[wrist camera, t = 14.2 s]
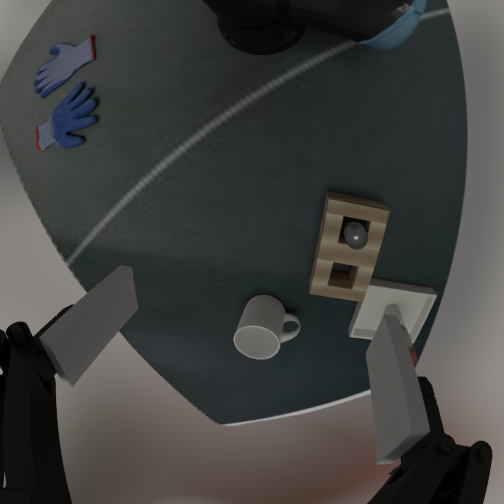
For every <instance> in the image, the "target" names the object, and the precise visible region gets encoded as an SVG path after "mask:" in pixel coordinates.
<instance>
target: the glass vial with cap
mask: <svg viewBox="0 0 504 504" xmlns="http://www.w3.org/2000/svg"><path fill="white" fill-rule="evenodd" d="M384 314H388V315H396V316H397V317H398V319H399V322H400V325H401V328H402V331H403V333H404V336H405V339H406V342H407V345H408V348H409V352H410V355H411V358H412V361H413V364H414V366H415V365H416V363H417V357H416V353H415V351H414V348H413V345H412V342H411V339H410V336H409V333H408V331H407V328H406V325H405V323H404V320H403V317H402V315H401V312H400V310H399V307H398V306H397V305H396V304H390V305H388V306H387V307H386V308H385V310H384Z"/></svg>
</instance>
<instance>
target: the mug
mask: <svg viewBox="0 0 504 504" xmlns="http://www.w3.org/2000/svg"><path fill="white" fill-rule="evenodd" d="M287 321H295V322H297V323H298V328H297V330H295V331H293V332H290V333H283V326H284V322H287ZM299 331H300V321H299V320H298V318H297V317H295V316H294V315H292V314H288V313H285V309H284V306H283V305H282V303H281V302H280V301H279V300H278V299H276V298H275V297H273V296H270V295H258V296H255V297H253V298H252V299H250V300H249V302H248V303H247V305H246V307H245V309H244V312H243V314H242V317H241V320H240V322H239V325H238V328H237V330H236V333H235V335H234V343H235V346H236V348H237V349H238V350H239V351H240V352H241V353H242V354H244V355H246V356H248V357H250V358H254V359H267V358H270V357H272V356H274V355H275V354H276V353H277V352H278V351H279V348H280V343H282V342H285V341H287V340H290V339H292V338H293V337H295V336H296V335H297V334H298V333H299Z"/></svg>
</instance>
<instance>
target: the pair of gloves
mask: <svg viewBox="0 0 504 504" xmlns="http://www.w3.org/2000/svg"><path fill="white" fill-rule="evenodd" d="M49 53H50V54H58V55H57V56H56V57H55V58H54V59H53V60H51V61H49V62H47V63H45V64H43V65H42V66H41V67H40V68H39V69H38V71H37V75H38V76H37V77H36V79H35V80H34V86H37V87H36V89H35V92H36V93H40V92H41V94H40V97H41V98H45V97H46V96H47V95H48V94H50V93H51V92H52V91H54V90H55V89H57V88H58V87H59V86H61V85H62V84H63V83H65V82H66V81H67V80H68V79H69V78H70V77H71V75H72V74H73V73H74V71H75V70H76V69H78V68H80V67H81V66H83V65H84V64H85V63H87V62H89V61H92V60H95V59H96V48H95V36H94V35H91V36H90V38H89V39H87V40H86V41H84V42H83V43H81V44H80V45H78V46H76V47H74V46H72V45H68V44H56V45H53V46H52V47H51V48H50V49H49ZM83 87H84V83H83V82H80V83H78V84H77V85H76V87H75V88H74V89H73V91H72V92H71V93H70V94H69V95H68V96H67V97H66V98H65V99H64V100H63V101H62V102H61V103H60V104H59V105H58V106H57V107H56V109H55V110H54V111H53V113H52V114H51V117H50V119H49V120H48V121H47V122H45V123H43V124H41V125H38V126H37V127H36V137H37V140H36V144H35V145H36V146H37V148H38V150H39V151H40V152H43V151H44V149H46V148H47V147H48V146H50V145H51V144H53V143H55V142H56V144H57V145H58V146H60V147H64V148H70V147H76V146H79V145H81V144H83V143H84V139H83V138H82V137H79V136H71V135H67V134H66V133H68V132H72V131H76V130H80V129H83V128H86V127H88V126H90V125H92V124H94V123H95V122H96V121H97V120H96V117H95V116H88V115H89V114H90V113H92V111H93V110H94V109H95V107H96V104H97V101H96V99H94V98H90V99H88V97H89V96H90V95H91V93H92V89H91V88H86V89H84V90H83V92H82V93H81V94H80V95H79V96H78V94H79V93H80V92H81V90H82V89H83ZM77 96H78V97H77ZM76 97H77V98H76ZM75 98H76V99H75ZM73 99H75V100H74V101H73ZM87 99H88V100H87ZM86 100H87V101H86ZM85 101H86V102H85ZM84 102H85V103H84ZM86 116H88V117H86Z"/></svg>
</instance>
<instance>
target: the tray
mask: <svg viewBox="0 0 504 504" xmlns="http://www.w3.org/2000/svg"><path fill="white" fill-rule="evenodd" d="M436 296H437V295H436V293H435V291H434V290H433V288H430V287H424V286H418V285H412V284H405V283H399V282H393V281H387V280H381V279H375V278H371V280H370V283H369V286H368V289H367V292H366V295H365V298H364V300H363V302H360V301H358V303H357V306H356V309H355V311H354V314H353V317H352V320H351V322H350V325H349V328H348V329H349V337H355V338H364V339H372V340H373V337H374V335H375V333H376V331H377V329H378V326H379V324H380V322H381V319H382V317H383V314H384V310H385V308H386V307H387V306H388V305H390V304H396V305H397V306H398V307H399V310H400V312H401V315H402V317H403V320H404V323H405V325H406V328H407V331H408V333H409V336H410V339H411V342H412V343H414V341H415V339H416V337H417V336H418V334H419V332H420V330H421V328H422V326H423V324H424V322H425V320H426V318H427V316H428V314H429V312H430V310H431V307H432V305H433V303H434V301H435V299H436Z"/></svg>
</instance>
